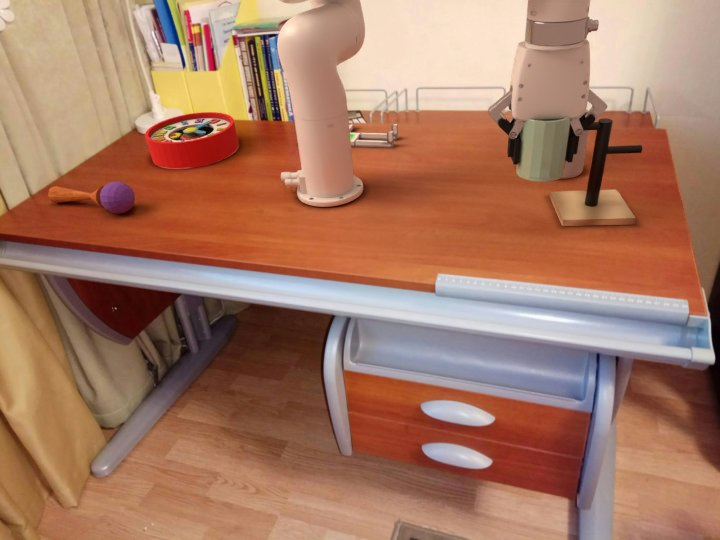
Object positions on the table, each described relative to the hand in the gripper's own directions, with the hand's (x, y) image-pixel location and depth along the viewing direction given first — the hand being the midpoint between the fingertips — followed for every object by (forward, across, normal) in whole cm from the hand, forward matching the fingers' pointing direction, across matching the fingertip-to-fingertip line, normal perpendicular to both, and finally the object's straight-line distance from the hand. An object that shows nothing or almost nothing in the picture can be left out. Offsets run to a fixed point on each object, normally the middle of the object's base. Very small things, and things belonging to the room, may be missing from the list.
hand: (540, 159), depth 81 cm
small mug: (+2, 0, -2) cm, 3 cm away
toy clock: (+12, +70, -39) cm, 81 cm away
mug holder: (+12, -6, -5) cm, 14 cm away
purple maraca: (+12, +81, -12) cm, 83 cm away
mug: (+12, -9, -23) cm, 28 cm away
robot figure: (+12, +34, -41) cm, 55 cm away
